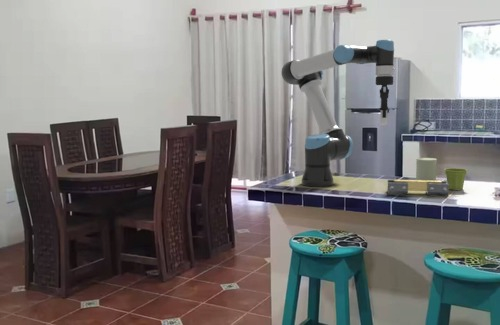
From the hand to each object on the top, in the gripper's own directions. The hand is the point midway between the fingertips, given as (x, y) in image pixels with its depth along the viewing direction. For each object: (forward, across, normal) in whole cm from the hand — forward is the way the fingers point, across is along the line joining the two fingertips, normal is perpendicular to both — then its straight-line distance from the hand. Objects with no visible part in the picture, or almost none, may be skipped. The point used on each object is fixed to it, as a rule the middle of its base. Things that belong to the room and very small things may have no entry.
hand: (383, 124), depth 226 cm
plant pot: (+29, +2, -31) cm, 42 cm away
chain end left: (+29, -11, -6) cm, 31 cm away
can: (+29, +16, -20) cm, 39 cm away
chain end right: (+29, -11, -22) cm, 38 cm away
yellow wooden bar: (+27, -11, -14) cm, 33 cm away
